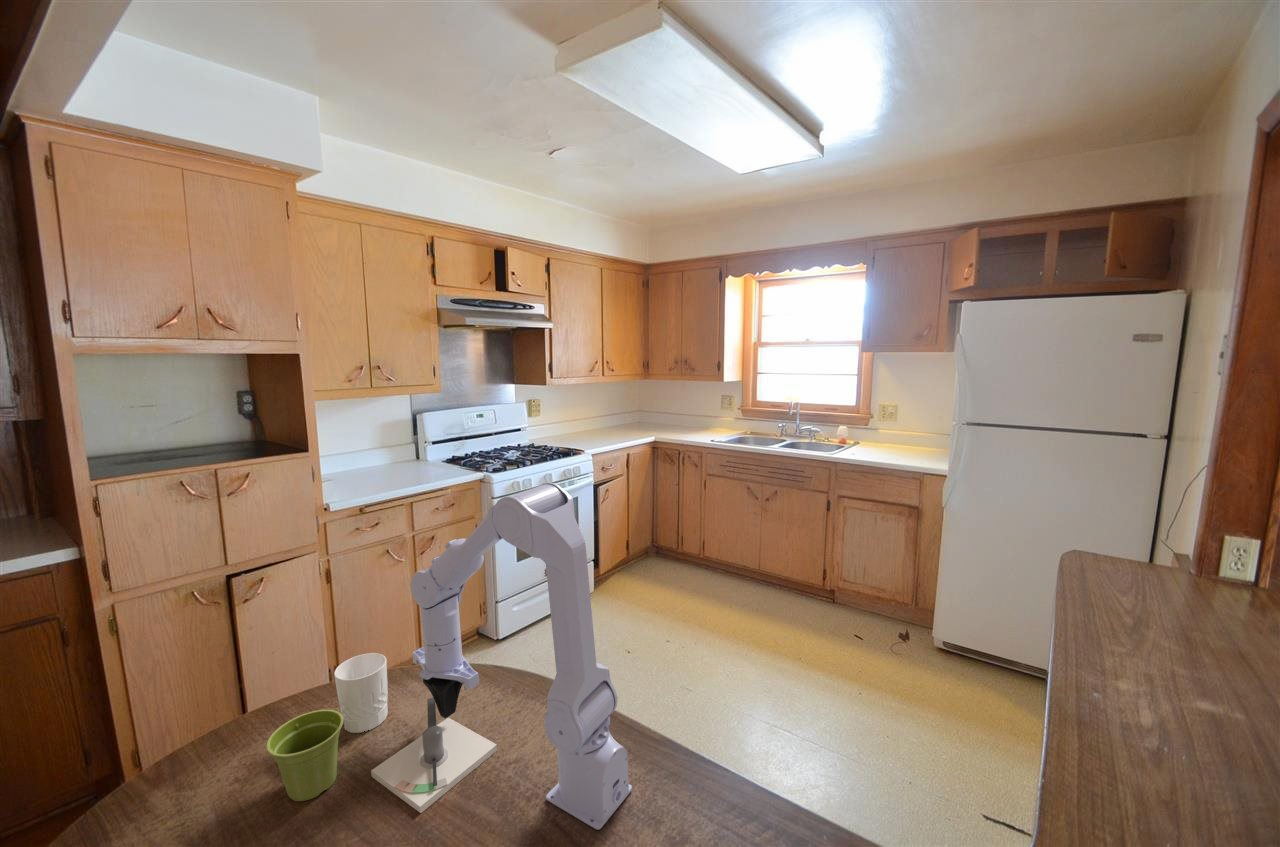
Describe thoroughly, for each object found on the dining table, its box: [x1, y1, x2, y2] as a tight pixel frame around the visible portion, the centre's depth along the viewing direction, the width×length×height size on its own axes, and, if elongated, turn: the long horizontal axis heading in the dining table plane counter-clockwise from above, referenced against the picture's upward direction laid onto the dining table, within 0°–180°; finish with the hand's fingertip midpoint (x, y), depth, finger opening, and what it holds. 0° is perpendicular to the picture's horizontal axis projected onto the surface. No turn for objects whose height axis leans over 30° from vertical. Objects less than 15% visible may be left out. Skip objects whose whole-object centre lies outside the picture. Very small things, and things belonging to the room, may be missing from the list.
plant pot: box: [266, 709, 344, 802], centre depth 76 cm, size 9×9×9 cm
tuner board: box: [370, 717, 498, 814], centre depth 80 cm, size 12×14×1 cm
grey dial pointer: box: [421, 697, 444, 786], centre depth 81 cm, size 16×3×4 cm, turn 23°
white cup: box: [333, 652, 389, 734], centre depth 90 cm, size 8×8×10 cm
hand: (448, 713), depth 87 cm, fingers closed
